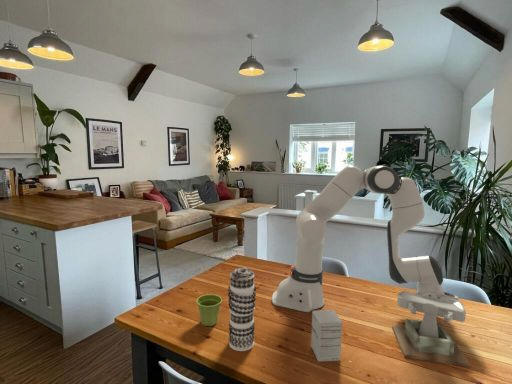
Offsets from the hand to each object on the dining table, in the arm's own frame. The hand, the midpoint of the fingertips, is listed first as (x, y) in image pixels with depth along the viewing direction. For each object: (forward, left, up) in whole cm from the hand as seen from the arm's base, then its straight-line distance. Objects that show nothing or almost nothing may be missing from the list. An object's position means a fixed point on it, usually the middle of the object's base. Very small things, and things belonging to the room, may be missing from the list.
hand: (429, 315), depth 95 cm
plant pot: (-75, -5, -10) cm, 76 cm away
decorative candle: (-60, -14, -10) cm, 63 cm away
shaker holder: (0, -1, -10) cm, 10 cm away
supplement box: (-33, -13, -10) cm, 37 cm away
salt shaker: (0, -1, -9) cm, 9 cm away
